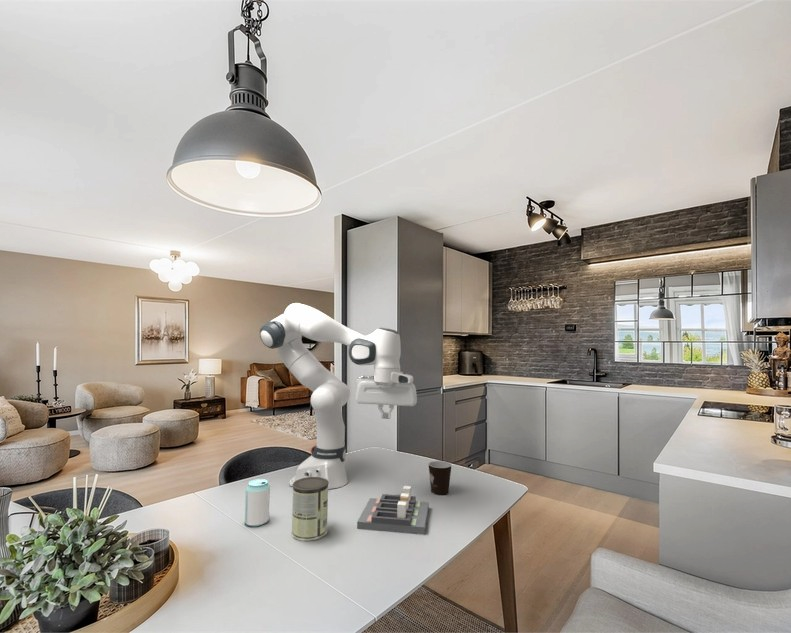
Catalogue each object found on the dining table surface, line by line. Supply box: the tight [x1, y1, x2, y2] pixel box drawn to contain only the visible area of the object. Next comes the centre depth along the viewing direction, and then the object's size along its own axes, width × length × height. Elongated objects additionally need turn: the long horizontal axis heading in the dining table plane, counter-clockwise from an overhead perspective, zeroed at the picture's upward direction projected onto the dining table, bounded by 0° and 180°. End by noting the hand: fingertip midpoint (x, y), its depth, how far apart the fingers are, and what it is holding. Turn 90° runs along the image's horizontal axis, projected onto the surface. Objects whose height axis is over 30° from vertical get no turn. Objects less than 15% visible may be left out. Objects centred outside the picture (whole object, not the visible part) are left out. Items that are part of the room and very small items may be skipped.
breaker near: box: [397, 501, 406, 519], centre depth 117 cm, size 2×2×5 cm
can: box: [244, 478, 271, 527], centre depth 119 cm, size 7×7×12 cm
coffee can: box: [291, 477, 329, 542], centre depth 114 cm, size 10×10×14 cm
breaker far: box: [402, 485, 412, 501], centre depth 129 cm, size 2×2×5 cm
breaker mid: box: [400, 492, 409, 509], centre depth 123 cm, size 2×2×5 cm
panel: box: [356, 493, 429, 535], centre depth 123 cm, size 20×18×4 cm
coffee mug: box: [428, 460, 452, 496], centre depth 147 cm, size 12×9×10 cm
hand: (385, 418), depth 130 cm, fingers closed
